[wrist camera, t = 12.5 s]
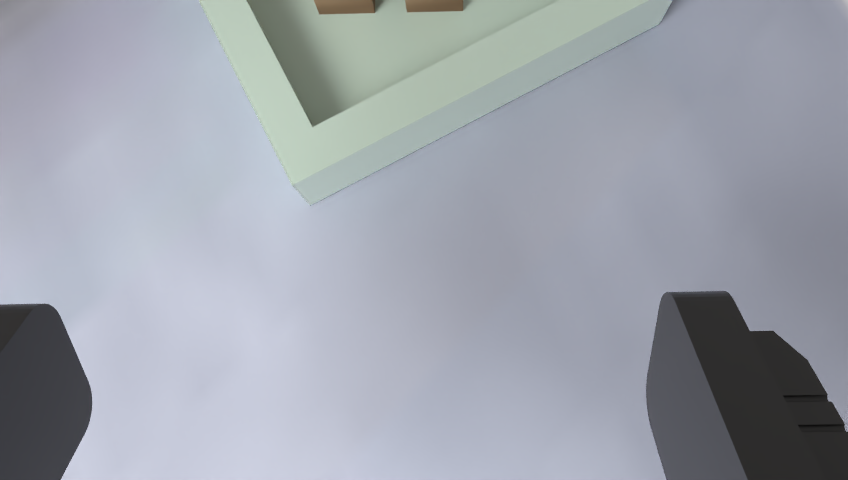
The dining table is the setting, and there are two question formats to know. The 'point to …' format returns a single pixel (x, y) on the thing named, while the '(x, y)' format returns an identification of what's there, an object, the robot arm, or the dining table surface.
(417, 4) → the brown wooden slotted block
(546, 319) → the dining table surface
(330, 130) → the rest
